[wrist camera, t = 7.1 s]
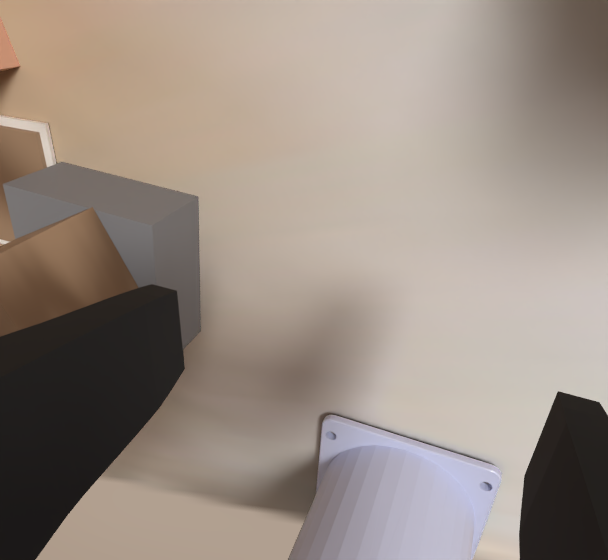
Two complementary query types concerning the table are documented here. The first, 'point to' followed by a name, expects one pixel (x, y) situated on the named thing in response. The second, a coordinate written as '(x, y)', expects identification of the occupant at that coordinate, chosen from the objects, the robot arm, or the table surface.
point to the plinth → (122, 225)
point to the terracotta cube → (6, 51)
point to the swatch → (21, 159)
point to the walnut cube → (59, 271)
